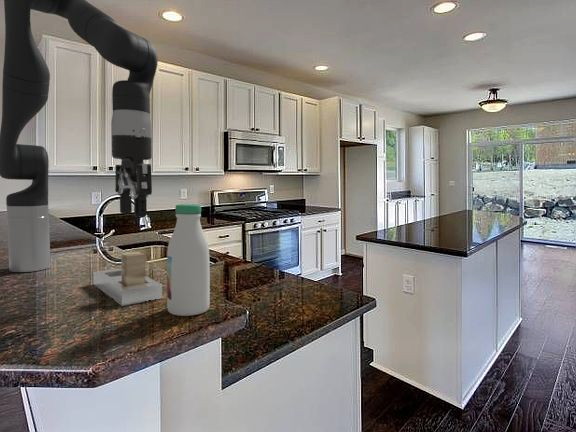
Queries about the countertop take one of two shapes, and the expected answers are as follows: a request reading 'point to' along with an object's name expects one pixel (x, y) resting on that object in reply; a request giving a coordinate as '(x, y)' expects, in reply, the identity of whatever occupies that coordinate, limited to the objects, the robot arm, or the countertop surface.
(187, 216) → the milk bottle
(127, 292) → the white slotted block
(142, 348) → the countertop surface
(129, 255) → the beech peg
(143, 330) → the countertop surface
